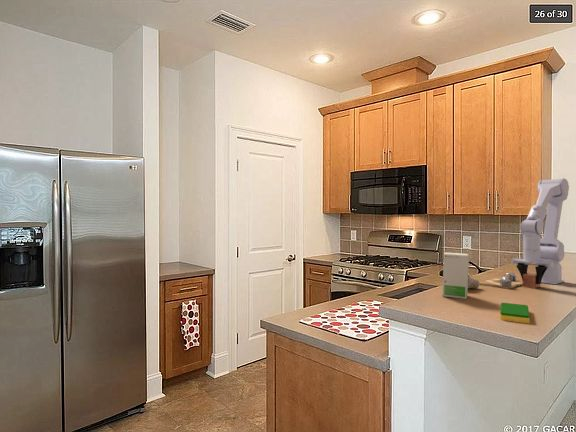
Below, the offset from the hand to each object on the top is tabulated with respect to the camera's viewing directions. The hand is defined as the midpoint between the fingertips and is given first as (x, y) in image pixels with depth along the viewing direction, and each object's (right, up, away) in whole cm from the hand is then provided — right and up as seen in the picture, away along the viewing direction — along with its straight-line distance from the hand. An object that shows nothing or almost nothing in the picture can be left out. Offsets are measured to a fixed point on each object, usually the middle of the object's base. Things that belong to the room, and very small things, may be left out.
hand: (531, 283), depth 153 cm
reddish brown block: (0, -1, 0) cm, 1 cm away
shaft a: (-4, -1, +9) cm, 10 cm away
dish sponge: (-31, -3, -40) cm, 51 cm away
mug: (-28, -2, -3) cm, 28 cm away
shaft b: (-11, -2, -1) cm, 11 cm away
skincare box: (-37, -2, -15) cm, 40 cm away
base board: (-8, -1, +6) cm, 10 cm away
